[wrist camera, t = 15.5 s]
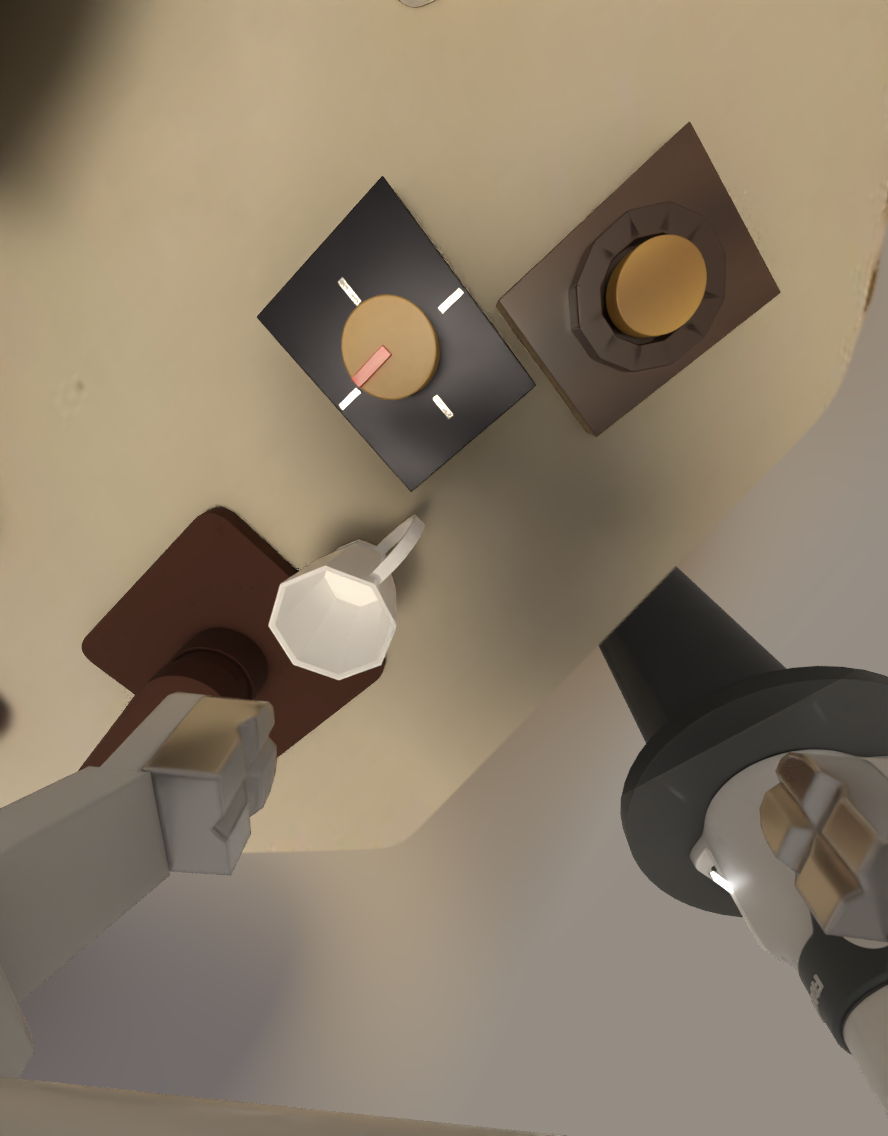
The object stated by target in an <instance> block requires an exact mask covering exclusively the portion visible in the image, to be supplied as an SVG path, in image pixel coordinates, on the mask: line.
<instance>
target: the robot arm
mask: <svg viewBox="0 0 888 1136" xmlns="http://www.w3.org/2000/svg"><path fill="white" fill-rule="evenodd" d="M274 724H275V718H274V709H273V705H271V704H270V703H269V702H265V701H257V700H249V699H240V698H232V697H223V696H215V695H203V694H194V693H185V692H175V693H172V694H170V695H168V696H167V697H166V698H165V699H164V700H163V701H162V702H161V703H160V704H159V705H158V706H157V707H156V708H155V709H154V710H153V711H152V712H151V713H150V715H149V716H148V717H147V718H146V719H145V720H144V721H143V722H142V723H141V724H140V725H139V726H138V727H137V728H136V729H135V730H134V731H133V733H132V734H131V735H130V736H129V737H128V738H127V739H126V740H125V741H124V742H123V743H122V744H121V745H120V746H119V747H118V748H117V749H116V751H115V752H114V753H113V754H112V755H111V756H110V757H109V758H108V759H107V760H106V761H105V762H104V763H103V764H102V765H101V766H100V767H92V766H88V767H86V768H84V769H82V770H80V771H78V772H76V773H74V774H72V775H70V776H67V777H65V778H63V779H61V780H59V781H57V782H55V783H53V784H51V785H49V786H47V787H44V788H42V789H40V790H38V791H36V792H34V793H32V794H30V795H28V796H26V797H24V798H21V799H19V800H17V801H15V802H13V803H11V804H9V805H7V806H5V807H3V808H1V809H0V1136H566V1135H556V1134H546V1133H537V1132H527V1131H518V1130H508V1129H497V1128H488V1127H478V1126H470V1125H460V1124H450V1123H441V1122H431V1121H422V1120H411V1119H402V1118H392V1117H383V1116H373V1115H364V1114H353V1113H344V1112H335V1111H325V1110H315V1109H306V1108H296V1107H286V1106H276V1105H266V1104H257V1103H248V1102H238V1101H228V1100H219V1099H209V1098H199V1097H189V1096H180V1095H169V1094H160V1093H151V1092H141V1091H131V1090H121V1089H111V1088H103V1087H93V1086H83V1085H73V1084H64V1083H53V1082H45V1081H35V1080H25V1079H18V1078H19V1077H20V1075H21V1073H22V1072H23V1070H24V1069H25V1067H26V1066H27V1064H28V1062H29V1061H30V1059H31V1058H32V1056H33V1054H34V1041H33V1037H32V1035H31V1032H30V1030H29V1027H28V1025H27V1023H26V1020H25V1018H24V1016H23V1014H22V1011H21V1009H20V1007H19V1003H20V1002H21V1001H22V1000H23V999H25V998H26V997H27V996H28V995H29V994H31V993H32V992H33V991H34V990H35V989H36V988H38V987H39V986H40V985H41V984H42V983H43V982H45V981H46V980H47V979H48V978H49V977H51V975H53V974H54V973H55V972H56V971H58V970H59V969H60V968H61V967H62V966H63V965H65V964H66V963H67V962H68V961H69V960H71V959H72V958H73V957H74V956H75V955H76V954H78V953H79V952H80V951H81V950H82V949H84V948H85V947H86V946H87V945H88V944H89V943H91V942H92V941H93V940H94V939H95V938H97V937H98V936H99V935H100V934H101V933H102V932H103V931H105V930H106V929H107V928H108V927H109V926H111V925H112V924H113V923H114V922H115V921H117V919H119V918H120V917H121V916H122V915H123V914H125V913H126V912H127V911H128V910H129V909H131V908H132V907H133V906H134V905H135V904H137V903H138V902H139V901H140V900H141V899H142V898H144V897H145V896H146V895H147V894H148V893H149V892H151V891H152V890H153V889H154V888H155V887H157V886H158V885H159V884H160V883H161V882H162V881H163V880H165V879H166V878H167V877H168V876H169V875H170V872H169V871H172V872H187V873H202V874H217V875H231V874H232V872H233V870H234V868H235V866H236V863H237V861H238V859H239V857H240V855H241V853H242V851H243V849H244V847H245V845H246V843H247V841H248V839H249V836H250V834H251V826H250V817H251V816H252V815H253V814H255V813H256V812H258V811H259V810H260V809H262V808H263V807H264V805H265V802H266V800H267V798H268V796H269V793H270V791H271V787H272V784H273V780H274V776H275V772H276V762H277V748H276V744H275V743H274V742H273V741H272V740H271V738H270V737H269V736H268V735H269V733H270V731H271V730H272V728H273V726H274ZM690 859H691V861H692V862H693V864H694V866H695V868H696V869H697V870H698V871H699V872H701V873H702V874H704V875H705V876H707V877H708V878H710V879H711V880H713V881H714V882H716V883H717V884H719V885H720V886H722V887H723V888H725V889H726V890H727V891H729V893H730V894H731V896H732V898H733V900H734V902H735V904H736V905H737V907H738V909H739V911H740V912H741V914H742V916H743V918H744V920H745V921H746V923H747V925H748V927H749V929H750V930H751V932H752V934H753V936H754V937H755V939H756V941H757V942H758V944H759V945H760V947H761V948H762V949H763V950H764V951H766V952H770V953H771V954H772V955H773V956H774V957H775V958H777V959H778V960H780V961H782V962H784V963H787V964H789V965H791V966H793V967H794V968H795V969H796V970H798V972H799V976H800V978H801V980H802V982H803V984H804V986H805V987H806V989H807V991H808V993H809V995H810V996H811V999H812V1003H813V1005H814V1007H815V1009H816V1010H817V1012H818V1014H819V1016H820V1017H821V1019H822V1020H823V1022H824V1023H826V1024H827V1026H828V1028H829V1029H830V1031H831V1033H832V1034H833V1036H834V1038H835V1039H836V1041H837V1043H838V1044H839V1045H840V1046H841V1047H842V1048H843V1049H844V1050H845V1051H847V1052H848V1053H850V1054H851V1055H852V1056H853V1058H854V1059H855V1061H856V1063H857V1065H858V1067H859V1068H860V1070H861V1072H862V1074H863V1075H864V1077H865V1079H866V1081H867V1082H868V1084H869V1086H870V1088H871V1090H872V1091H873V1093H874V1095H875V1097H876V1098H877V1100H878V1102H879V1104H880V1105H881V1107H882V1109H883V1111H884V1112H885V1114H886V1116H887V1118H888V756H875V757H859V756H854V755H850V754H847V753H843V752H838V751H833V750H823V749H809V750H798V751H792V752H787V753H782V754H779V755H775V756H772V757H769V758H766V759H764V760H761V761H759V762H757V763H755V764H753V765H751V766H749V767H747V768H745V769H744V770H742V771H741V772H739V773H738V774H736V775H735V776H734V777H732V778H731V779H730V780H729V781H728V782H726V783H725V784H724V785H723V786H722V787H721V789H720V790H719V791H718V792H717V793H716V795H715V796H714V798H713V799H712V801H711V803H710V805H709V807H708V809H707V812H706V816H705V822H704V830H703V833H702V836H701V837H700V839H699V840H698V841H697V843H696V844H695V845H694V847H693V848H692V850H691V852H690Z"/></svg>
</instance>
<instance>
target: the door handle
mask: <svg viewBox="0 0 888 1136" xmlns="http://www.w3.org/2000/svg"><path fill="white" fill-rule="evenodd" d="M296 573H297V571H296V570H295V569H294V568H293V567H292V566H291V565H290V564H289V563H288V562H286V561H285V560H284V559H283V558H282V557H281V556H280V555H279V554H278V553H277V552H276V551H274V550H273V549H272V548H271V547H270V546H269V545H268V544H267V543H266V542H265V541H264V540H263V539H261V538H260V537H259V536H258V535H257V534H256V533H255V532H254V531H253V530H252V529H251V528H249V527H248V526H247V525H246V524H245V523H244V522H243V521H242V520H241V519H240V518H239V517H237V516H236V515H235V514H234V513H232V512H231V511H229V510H227V509H224V508H220V507H219V508H213V509H210V510H209V511H207V512H205V513H203V514H201V515H200V516H198V517H197V518H196V519H195V520H194V521H193V522H192V523H191V524H190V525H189V526H188V527H187V528H186V529H185V530H184V532H183V533H182V534H181V535H180V536H179V537H178V538H177V539H176V540H175V541H174V542H173V543H172V544H171V546H170V547H169V548H168V549H167V550H166V551H165V552H164V553H163V554H162V555H161V556H160V557H159V559H158V560H157V561H156V562H155V563H154V564H153V565H152V566H151V567H150V568H149V569H148V570H147V571H146V573H145V574H144V575H143V576H142V577H141V578H140V579H139V580H138V581H137V582H136V583H135V584H134V585H133V587H132V588H131V589H130V590H129V591H128V592H127V593H126V594H125V595H124V596H123V597H122V598H121V600H120V601H119V602H118V603H117V604H116V605H115V606H114V607H113V608H112V609H111V610H110V611H109V612H108V614H107V615H106V616H105V617H104V618H103V619H102V620H101V621H100V622H99V623H98V624H97V625H96V626H95V628H94V629H93V630H92V631H91V632H90V633H89V634H88V635H87V636H86V637H85V639H84V640H83V643H82V651H83V653H84V655H85V656H86V657H87V658H88V659H89V660H90V661H91V662H92V663H93V664H95V665H96V666H97V667H99V668H100V669H101V670H103V671H104V672H105V673H107V674H108V675H109V676H111V677H112V678H113V679H115V680H116V681H117V682H119V683H120V684H122V685H123V686H124V687H126V688H127V689H128V690H130V691H131V692H132V693H134V694H135V696H134V697H133V699H132V700H131V701H130V703H129V704H128V705H127V707H126V708H125V710H124V711H123V712H122V714H121V715H120V716H119V718H118V719H117V720H116V722H115V723H114V724H113V726H112V727H111V728H110V730H109V731H108V732H107V734H106V735H105V736H104V737H103V739H102V740H101V741H100V743H99V744H98V745H97V747H96V748H95V749H94V751H93V752H92V753H91V755H90V756H89V757H88V759H87V760H86V761H85V762H84V764H83V765H82V766H81V768H80V769H79V770H78V771H80V770H82V769H84V768H86V767H88V766H92V767H100V766H101V765H102V764H103V763H104V762H105V761H106V760H107V759H108V758H109V757H110V756H111V755H112V754H113V753H114V752H115V751H116V749H117V748H118V747H119V746H120V745H121V744H122V743H123V742H124V741H125V740H126V739H127V738H128V737H129V736H130V735H131V734H132V733H133V731H134V730H135V729H136V728H137V727H138V726H139V725H140V724H141V723H142V722H143V721H144V720H145V719H146V718H147V717H148V716H149V715H150V713H151V712H152V711H153V710H154V709H155V708H156V707H157V706H158V705H159V704H160V703H161V702H162V701H163V700H164V699H165V698H166V697H167V696H168V695H170V694H172V693H175V692H185V693H194V694H203V695H215V696H223V697H232V698H240V699H249V700H257V701H265V702H269V703H270V704H271V705H273V709H274V718H275V724H274V726H273V728H272V730H271V731H270V733H269V735H268V736H269V737H270V738H271V740H272V741H273V742H274V743H275V744H276V748H277V757H279V756H280V755H281V754H282V753H284V752H285V751H286V750H288V749H289V748H290V747H291V746H293V745H294V744H295V743H297V742H298V741H299V740H300V739H302V738H303V737H304V736H306V735H307V734H308V733H309V732H311V731H312V730H313V729H315V728H316V727H317V726H318V725H320V724H321V723H322V722H324V721H325V720H326V719H327V718H329V717H330V716H331V715H333V714H334V713H335V712H337V711H338V710H339V709H340V708H342V707H343V706H344V705H346V704H347V703H348V702H349V701H351V700H352V699H353V698H355V697H356V696H357V695H358V694H360V693H361V692H362V691H364V690H365V689H366V688H367V687H369V686H370V685H371V684H373V683H374V682H375V681H376V680H377V679H378V678H379V677H380V676H381V674H382V672H383V669H384V665H385V661H386V658H385V657H384V659H383V662H382V664H381V665H380V666H378V667H375V668H372V669H369V670H366V671H364V672H361V673H358V674H355V675H352V676H349V677H347V678H344V679H341V680H337V679H334V678H331V677H328V676H325V675H322V674H319V673H316V672H313V671H310V670H307V669H305V668H302V667H299V666H296V665H293V663H292V662H291V660H290V659H289V657H288V656H287V654H286V653H285V651H284V649H283V648H282V646H281V645H280V643H279V642H278V640H277V639H276V637H275V635H274V634H273V632H272V631H271V629H270V628H269V626H268V625H269V621H270V618H271V614H272V611H273V607H274V604H275V600H276V597H277V593H278V590H279V586H280V584H281V583H282V582H284V581H285V580H287V579H288V578H290V577H291V576H293V575H294V574H296Z"/></svg>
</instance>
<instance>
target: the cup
mask: <svg viewBox="0 0 888 1136" xmlns="http://www.w3.org/2000/svg"><path fill="white" fill-rule="evenodd" d="M424 527H425V524H424V523H423V522H422V521H421V520H420V519H419V518H418V517H417V516H416V515H413V516H411V517H409V518H408V519H407V520H405V521H404V522H403V523H402V524H400V525H399V526H398V527H397V528H395V529H394V530H393V531H392V532H391V533H390V534H388V535H387V536H386V537H385V538H384V539H383V540H382V541H381V542H380V543H379V544H378V545H377V546H376V545H373V544H371V543H368V542H365V541H363V540H360V539H358V540H355V541H353V542H350V543H348V544H346V545H343V546H341V547H338V548H337V549H336V550H335V552H333V553H331V554H328V555H326V556H324V557H321V558H319V559H316V560H315V561H313V562H312V563H311V564H309V565H308V566H306V567H305V568H303V569H302V570H301V571H299V572H297V573H296V574H294V575H293V576H291V577H290V578H288V579H287V580H285V581H284V582H282V583H281V584H280V586H279V590H278V593H277V597H276V600H275V604H274V607H273V611H272V614H271V618H270V621H269V625H268V626H269V628H270V629H271V631H272V632H273V634H274V635H275V637H276V639H277V640H278V642H279V643H280V645H281V646H282V648H283V649H284V651H285V653H286V654H287V656H288V657H289V659H290V660H291V662H292V663H293V665H296V666H299V667H302V668H305V669H307V670H310V671H313V672H316V673H319V674H322V675H325V676H328V677H331V678H334V679H337V680H341V679H344V678H347V677H349V676H352V675H355V674H358V673H361V672H364V671H366V670H369V669H372V668H375V667H378V666H380V665H381V664H382V662H383V659H384V657H385V655H386V652H387V650H388V647H389V645H390V642H391V640H392V637H393V635H394V632H395V630H396V628H397V611H396V588H395V584H394V581H393V577H392V575H391V573H392V572H393V571H394V570H395V569H396V568H397V567H398V566H399V565H400V563H401V562H402V561H403V560H404V559H405V558H406V557H407V555H408V554H409V553H410V551H411V550H412V549H413V547H414V546H415V544H416V543H417V541H418V540H419V538H420V536H421V534H422V532H423V530H424ZM396 543H398V544H397V545H396V546H395V548H394V549H393V550H392V551H391V552H390V553H389V554H388V556H386V553H387V552H388V551H389V550H390V549H391V548H392V547H393V546H394V545H395V544H396Z"/></svg>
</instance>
